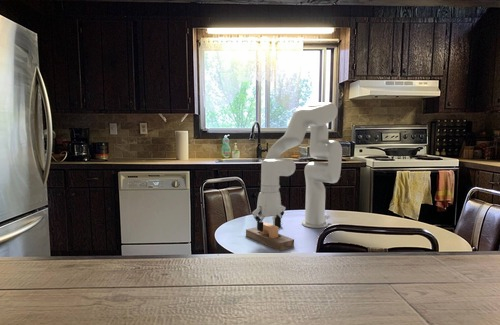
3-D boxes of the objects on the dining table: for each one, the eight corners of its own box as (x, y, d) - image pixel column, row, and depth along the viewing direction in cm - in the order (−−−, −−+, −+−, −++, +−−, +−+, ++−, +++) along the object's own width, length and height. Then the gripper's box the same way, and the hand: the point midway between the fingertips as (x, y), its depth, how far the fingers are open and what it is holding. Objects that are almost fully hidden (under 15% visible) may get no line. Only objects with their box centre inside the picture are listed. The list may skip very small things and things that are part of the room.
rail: (259, 232, 152) (260, 226, 152) (293, 246, 134) (294, 239, 134) (245, 236, 147) (245, 229, 147) (279, 250, 130) (279, 243, 129)
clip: (265, 237, 145) (265, 222, 144) (278, 243, 138) (278, 226, 138) (259, 239, 143) (260, 223, 143) (272, 244, 137) (272, 228, 136)
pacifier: (267, 225, 165) (267, 228, 159) (267, 212, 165) (268, 215, 159) (281, 225, 165) (283, 228, 159) (281, 213, 165) (283, 215, 159)
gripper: (279, 185, 147) (278, 223, 148) (247, 189, 136) (247, 230, 138) (291, 188, 141) (290, 227, 143) (259, 192, 130) (258, 234, 132)
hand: (269, 228), depth 140 cm, fingers open, 9 cm apart
